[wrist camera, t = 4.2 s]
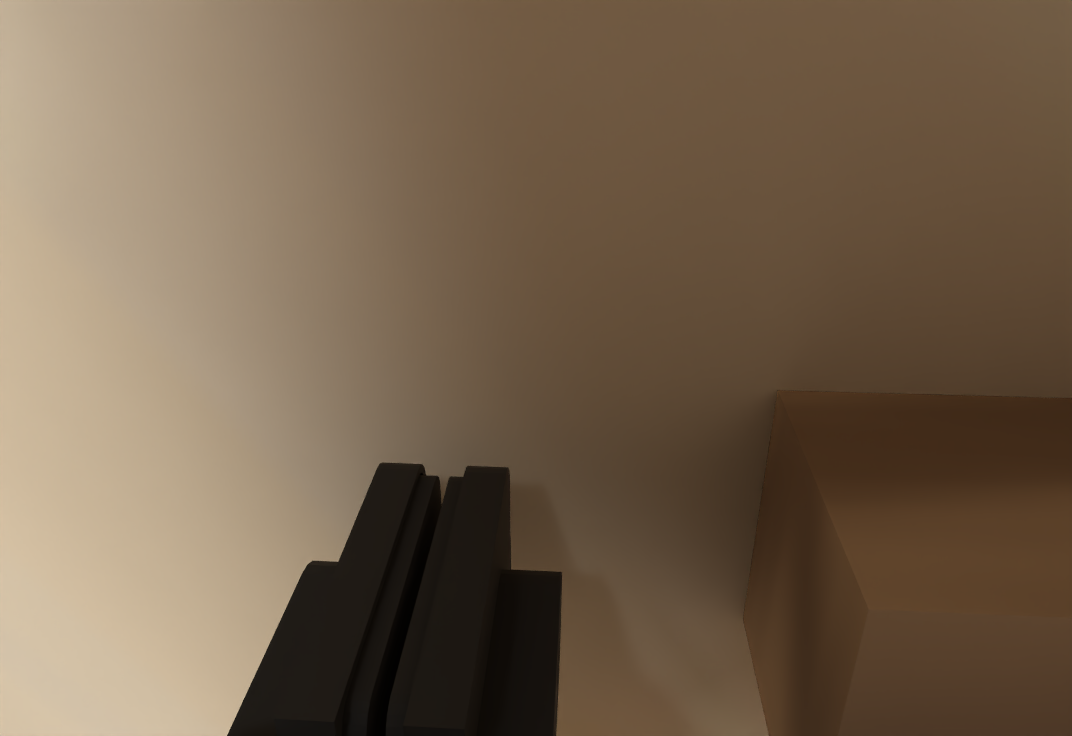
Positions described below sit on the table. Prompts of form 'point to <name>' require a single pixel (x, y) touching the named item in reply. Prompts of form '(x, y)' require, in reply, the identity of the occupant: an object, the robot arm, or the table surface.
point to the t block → (914, 566)
